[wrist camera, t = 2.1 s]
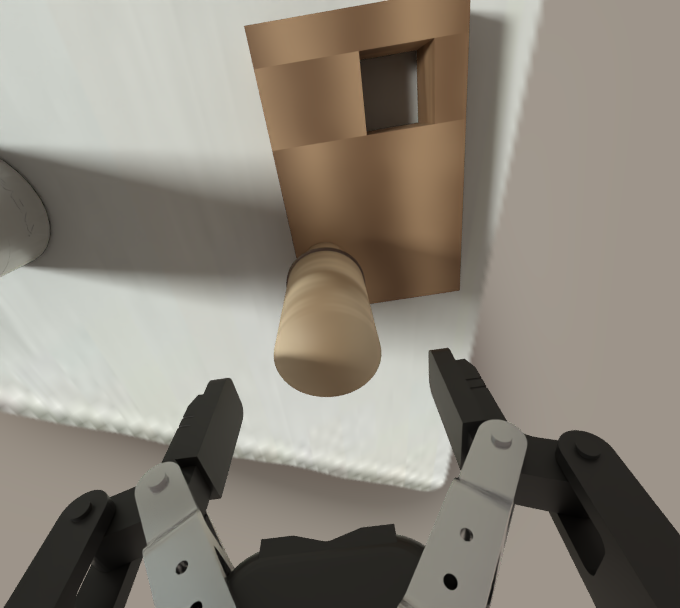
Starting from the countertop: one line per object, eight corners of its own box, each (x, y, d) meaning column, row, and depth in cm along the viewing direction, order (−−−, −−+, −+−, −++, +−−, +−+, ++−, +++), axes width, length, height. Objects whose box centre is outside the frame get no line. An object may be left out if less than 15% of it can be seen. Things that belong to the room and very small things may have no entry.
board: (310, 290, 30) (308, 313, 27) (256, 40, 21) (244, 25, 18) (443, 269, 30) (459, 290, 26) (445, 7, 21) (470, -15, 17)
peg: (298, 297, 26) (285, 405, 16) (284, 235, 23) (258, 319, 14) (363, 288, 26) (387, 390, 16) (354, 224, 23) (378, 301, 14)
